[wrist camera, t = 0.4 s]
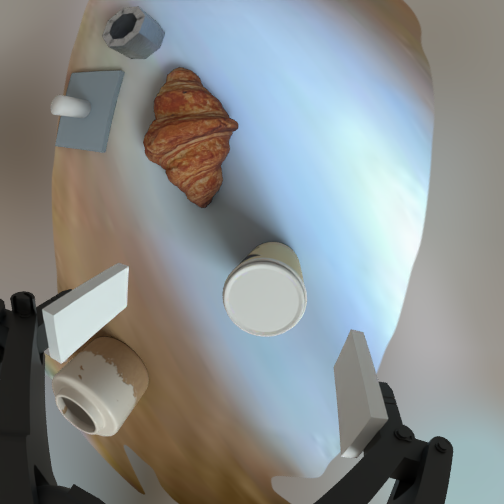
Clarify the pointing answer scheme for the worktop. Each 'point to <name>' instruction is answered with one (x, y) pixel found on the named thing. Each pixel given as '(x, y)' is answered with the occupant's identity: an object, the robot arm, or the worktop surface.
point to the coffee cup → (266, 291)
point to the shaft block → (87, 110)
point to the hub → (133, 33)
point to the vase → (100, 386)
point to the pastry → (189, 136)
